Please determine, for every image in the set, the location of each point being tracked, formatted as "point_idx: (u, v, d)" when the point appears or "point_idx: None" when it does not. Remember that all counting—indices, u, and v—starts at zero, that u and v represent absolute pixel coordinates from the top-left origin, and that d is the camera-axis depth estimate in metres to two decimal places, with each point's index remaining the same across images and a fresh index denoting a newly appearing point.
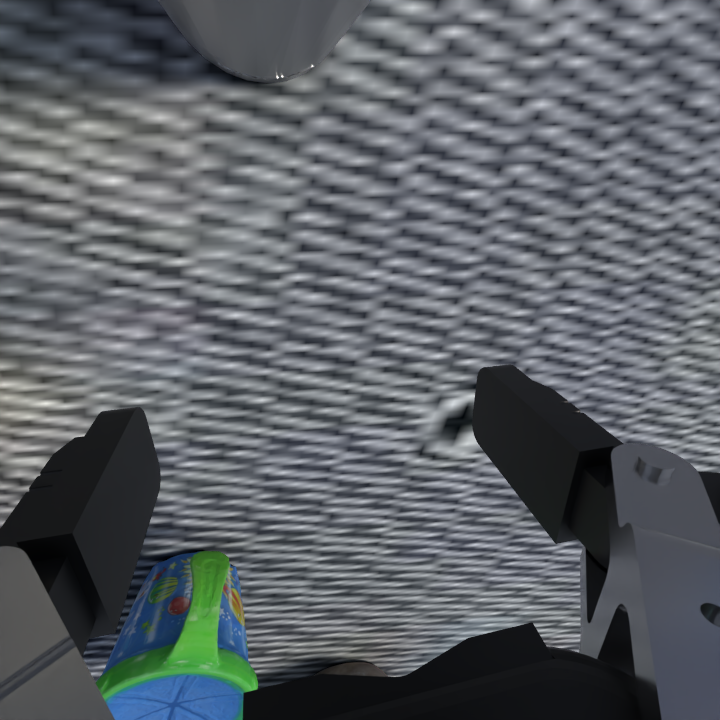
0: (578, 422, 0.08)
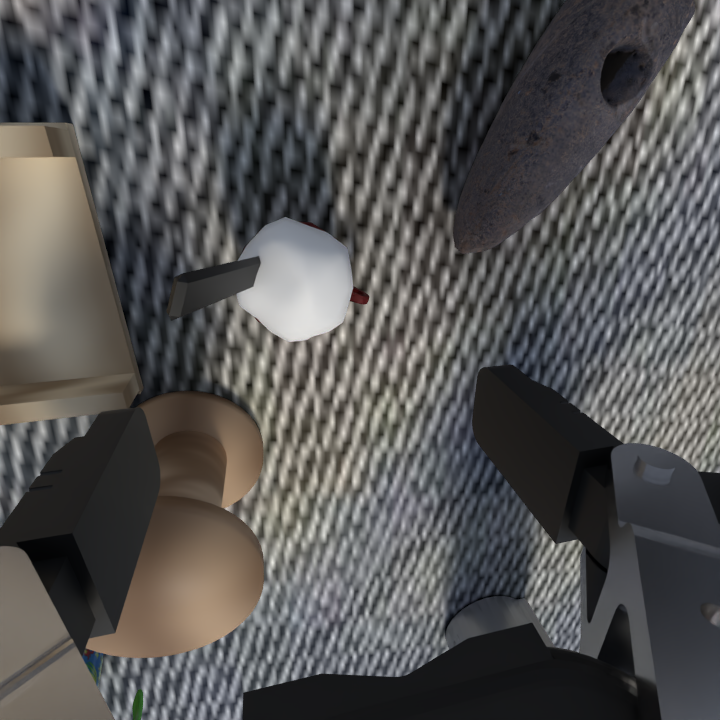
0: (578, 422, 0.08)
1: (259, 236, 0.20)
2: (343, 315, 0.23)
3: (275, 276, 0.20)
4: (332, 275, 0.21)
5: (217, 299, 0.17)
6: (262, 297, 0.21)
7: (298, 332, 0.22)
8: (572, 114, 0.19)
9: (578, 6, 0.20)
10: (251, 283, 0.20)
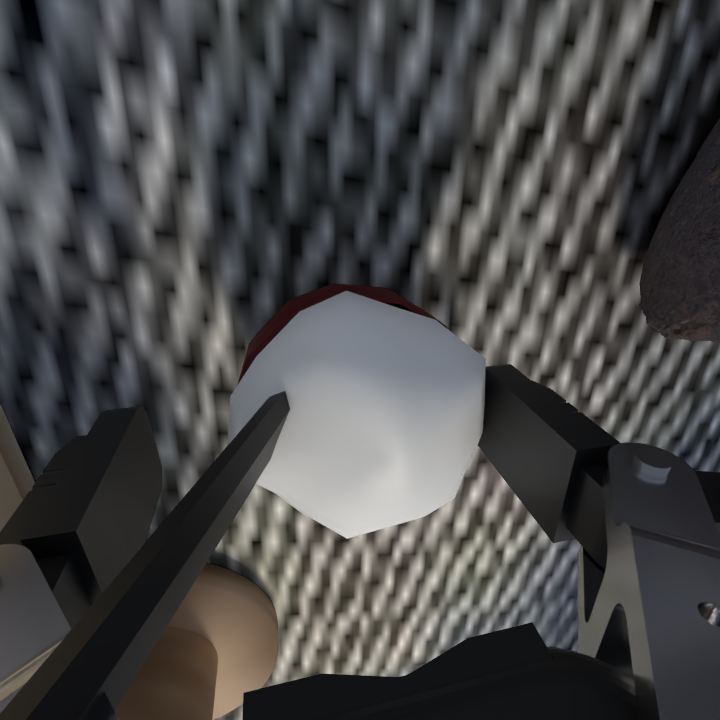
0: (576, 421, 0.08)
1: (287, 344, 0.08)
2: (457, 486, 0.11)
3: (325, 442, 0.08)
4: (459, 429, 0.09)
5: (155, 644, 0.05)
6: (291, 479, 0.09)
7: (364, 527, 0.10)
8: None
9: None
10: (266, 461, 0.08)
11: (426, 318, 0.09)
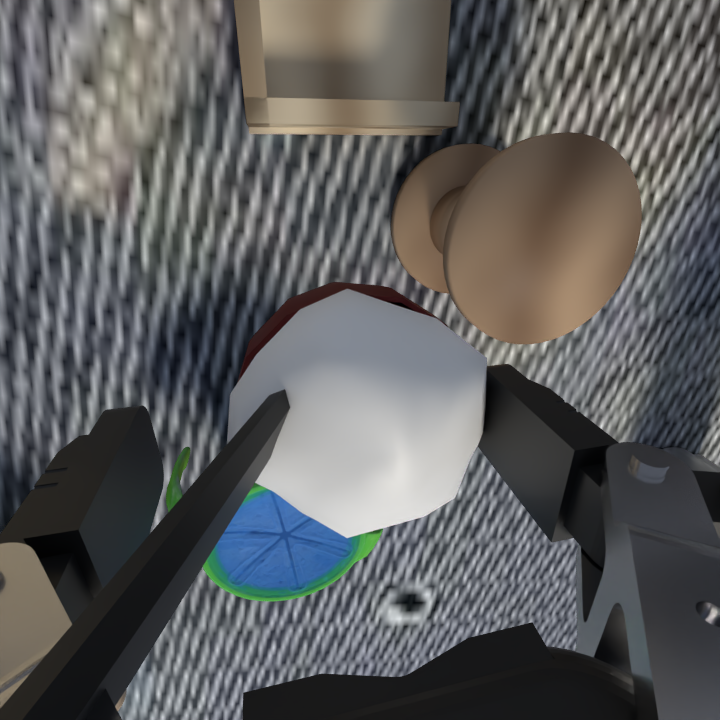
0: (574, 421, 0.08)
1: (287, 342, 0.08)
2: (458, 485, 0.11)
3: (325, 440, 0.08)
4: (460, 429, 0.09)
5: (153, 643, 0.05)
6: (291, 478, 0.09)
7: (364, 527, 0.10)
8: None
9: None
10: (266, 460, 0.08)
11: (427, 317, 0.09)
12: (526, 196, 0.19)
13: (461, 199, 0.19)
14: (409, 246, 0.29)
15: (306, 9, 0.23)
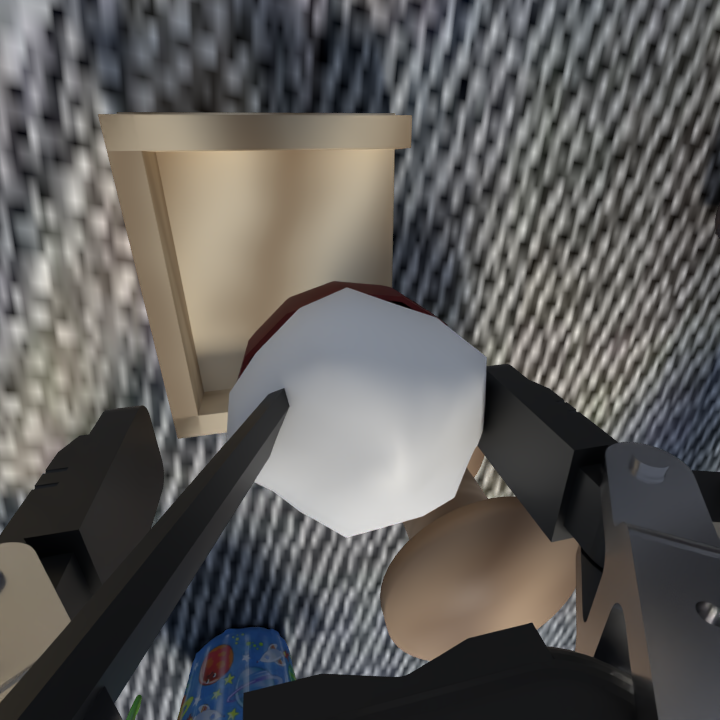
0: (574, 421, 0.08)
1: (286, 340, 0.08)
2: (457, 485, 0.11)
3: (325, 439, 0.08)
4: (459, 429, 0.09)
5: (151, 643, 0.05)
6: (291, 477, 0.09)
7: (363, 526, 0.10)
8: None
9: None
10: (265, 459, 0.08)
11: (427, 316, 0.09)
12: (461, 565, 0.18)
13: (394, 566, 0.19)
14: None
15: (239, 311, 0.22)
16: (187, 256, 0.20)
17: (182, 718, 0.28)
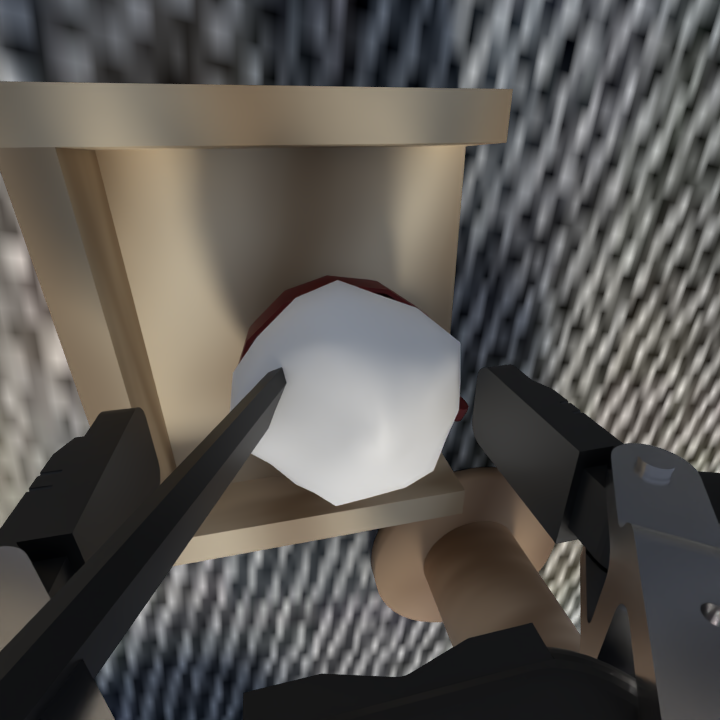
0: (578, 422, 0.08)
1: (284, 325, 0.09)
2: (436, 459, 0.12)
3: (317, 412, 0.09)
4: (436, 404, 0.10)
5: (177, 558, 0.06)
6: (286, 447, 0.10)
7: (351, 495, 0.12)
8: None
9: None
10: (265, 428, 0.09)
11: (408, 306, 0.11)
12: None
13: None
14: (396, 590, 0.22)
15: (231, 383, 0.15)
16: (151, 308, 0.13)
17: None
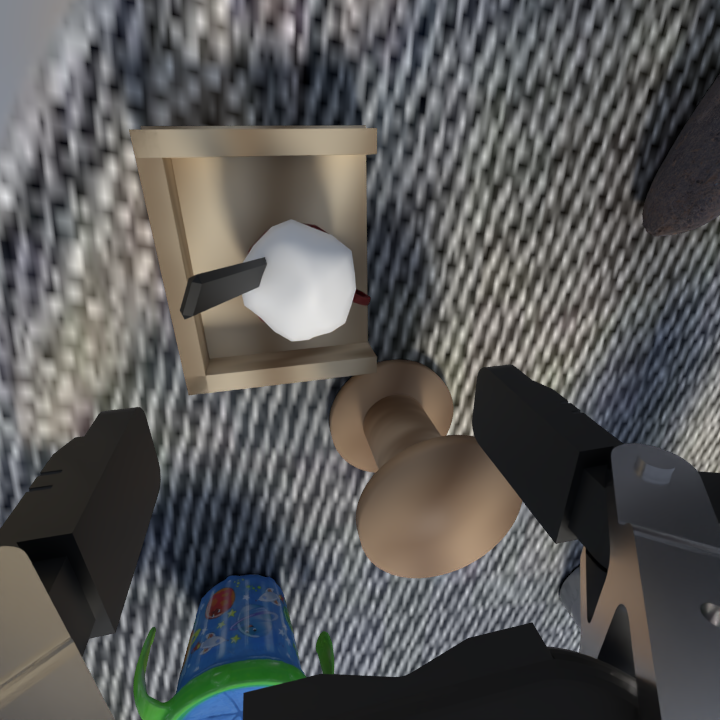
0: (578, 422, 0.08)
1: (265, 238, 0.21)
2: (346, 316, 0.23)
3: (281, 277, 0.21)
4: (337, 277, 0.21)
5: (226, 299, 0.17)
6: (267, 297, 0.21)
7: (301, 332, 0.23)
8: None
9: None
10: (257, 283, 0.20)
11: (327, 233, 0.22)
12: (419, 489, 0.23)
13: (366, 491, 0.23)
14: (346, 443, 0.33)
15: None
16: (195, 243, 0.25)
17: (191, 646, 0.33)
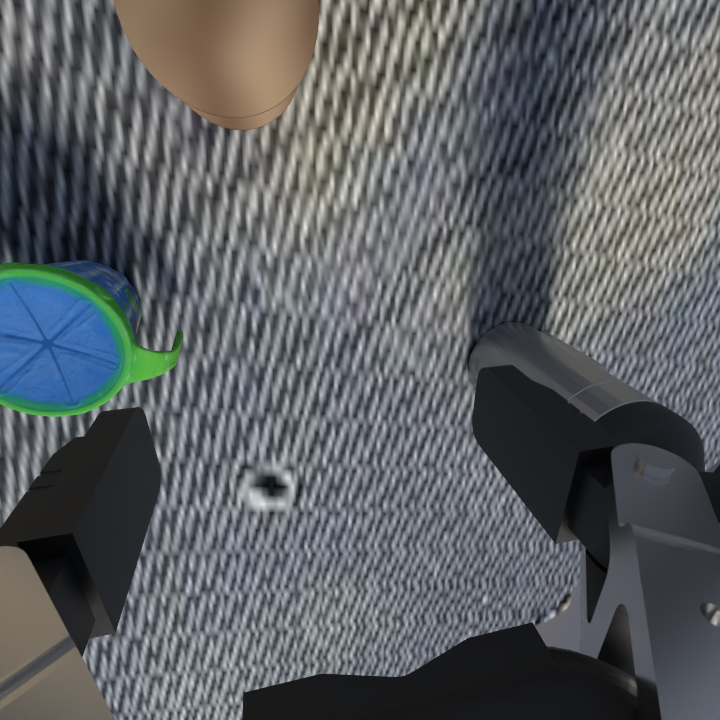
0: (578, 422, 0.08)
1: None
2: None
3: None
4: None
5: None
6: None
7: None
8: None
9: None
10: None
11: None
12: None
13: None
14: None
15: None
16: None
17: None
